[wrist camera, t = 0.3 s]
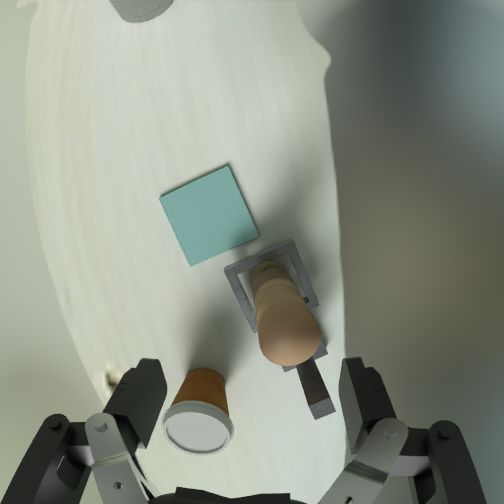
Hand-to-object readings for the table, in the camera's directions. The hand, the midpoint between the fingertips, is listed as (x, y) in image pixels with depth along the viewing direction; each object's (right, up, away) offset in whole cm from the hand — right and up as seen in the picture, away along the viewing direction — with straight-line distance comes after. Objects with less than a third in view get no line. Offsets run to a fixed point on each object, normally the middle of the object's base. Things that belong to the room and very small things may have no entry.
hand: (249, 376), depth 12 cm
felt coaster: (-6, +10, +27) cm, 29 cm away
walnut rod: (+3, +2, +29) cm, 29 cm away
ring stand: (+4, -3, +30) cm, 30 cm away
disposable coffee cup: (-7, -15, +32) cm, 36 cm away
